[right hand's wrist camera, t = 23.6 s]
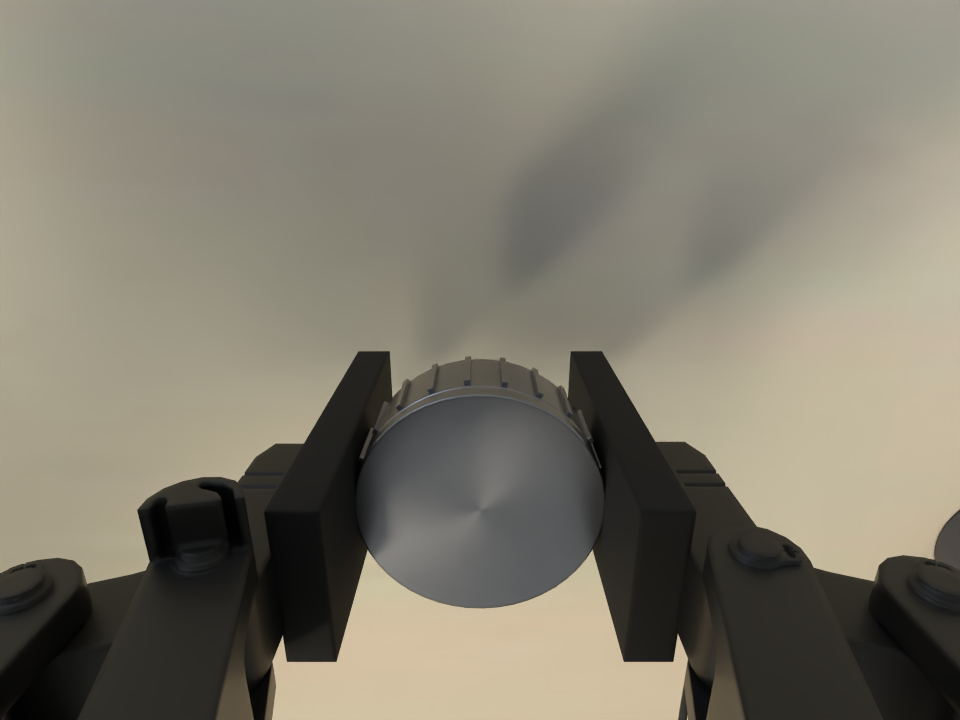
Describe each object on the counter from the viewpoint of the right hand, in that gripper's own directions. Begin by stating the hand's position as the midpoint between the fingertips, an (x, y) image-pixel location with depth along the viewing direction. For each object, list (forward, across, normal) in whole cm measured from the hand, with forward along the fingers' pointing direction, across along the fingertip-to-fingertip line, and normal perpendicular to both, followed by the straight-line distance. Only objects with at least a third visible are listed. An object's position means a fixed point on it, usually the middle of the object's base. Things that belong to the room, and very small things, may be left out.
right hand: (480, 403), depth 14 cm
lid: (-4, 0, 0) cm, 4 cm away
